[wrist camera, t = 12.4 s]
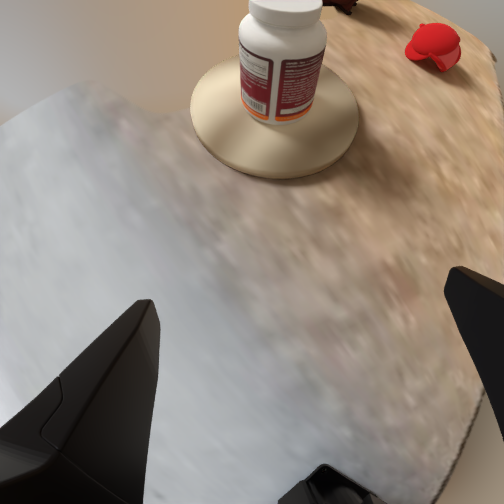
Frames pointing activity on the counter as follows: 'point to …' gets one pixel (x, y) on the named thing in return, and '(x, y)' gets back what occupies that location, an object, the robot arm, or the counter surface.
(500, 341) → the robot arm
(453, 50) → the cap
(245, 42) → the pill bottle
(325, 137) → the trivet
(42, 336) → the counter surface
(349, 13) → the mate gourd
